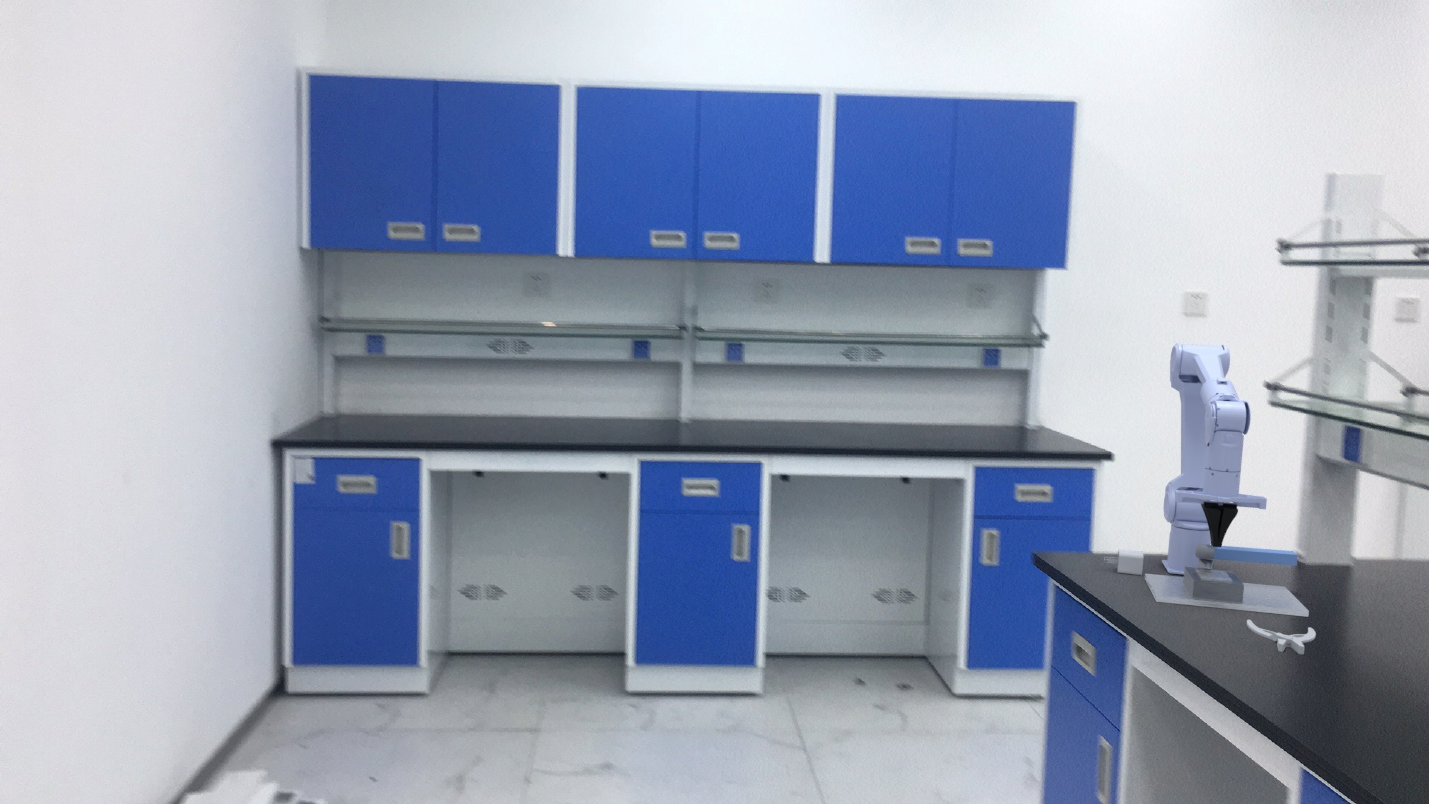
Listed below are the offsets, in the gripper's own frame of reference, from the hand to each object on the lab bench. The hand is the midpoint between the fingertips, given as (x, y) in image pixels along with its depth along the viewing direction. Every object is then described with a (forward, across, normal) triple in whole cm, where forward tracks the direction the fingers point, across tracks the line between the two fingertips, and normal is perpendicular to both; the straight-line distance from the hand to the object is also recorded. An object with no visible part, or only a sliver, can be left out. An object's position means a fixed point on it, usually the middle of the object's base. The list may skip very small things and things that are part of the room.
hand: (1216, 545), depth 195 cm
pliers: (+10, +7, -21) cm, 25 cm away
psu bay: (+9, +2, +2) cm, 10 cm away
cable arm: (+4, +7, +8) cm, 11 cm away
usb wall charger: (+10, -14, +14) cm, 22 cm away
